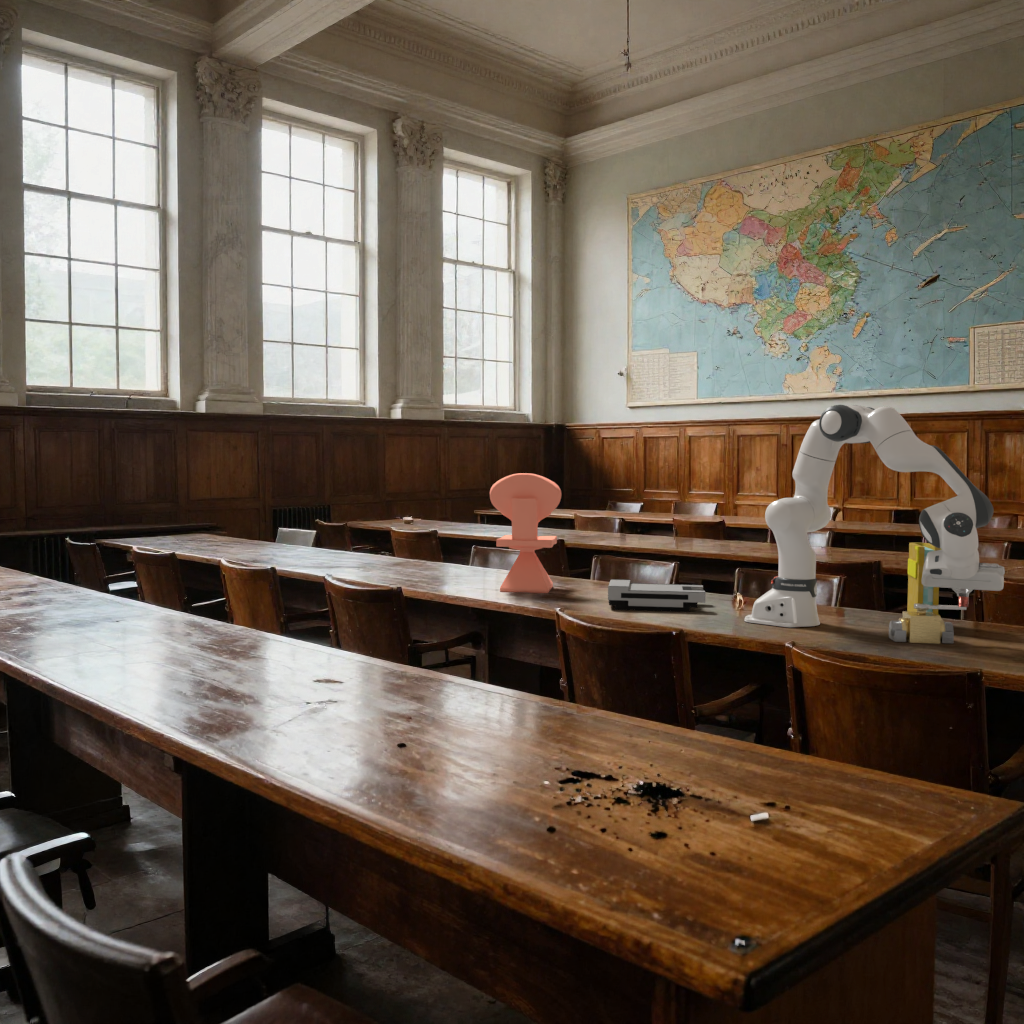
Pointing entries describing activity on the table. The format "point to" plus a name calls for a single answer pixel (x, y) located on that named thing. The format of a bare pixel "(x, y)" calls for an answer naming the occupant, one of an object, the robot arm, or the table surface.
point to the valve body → (921, 628)
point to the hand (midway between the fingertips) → (963, 594)
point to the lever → (962, 605)
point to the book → (920, 578)
